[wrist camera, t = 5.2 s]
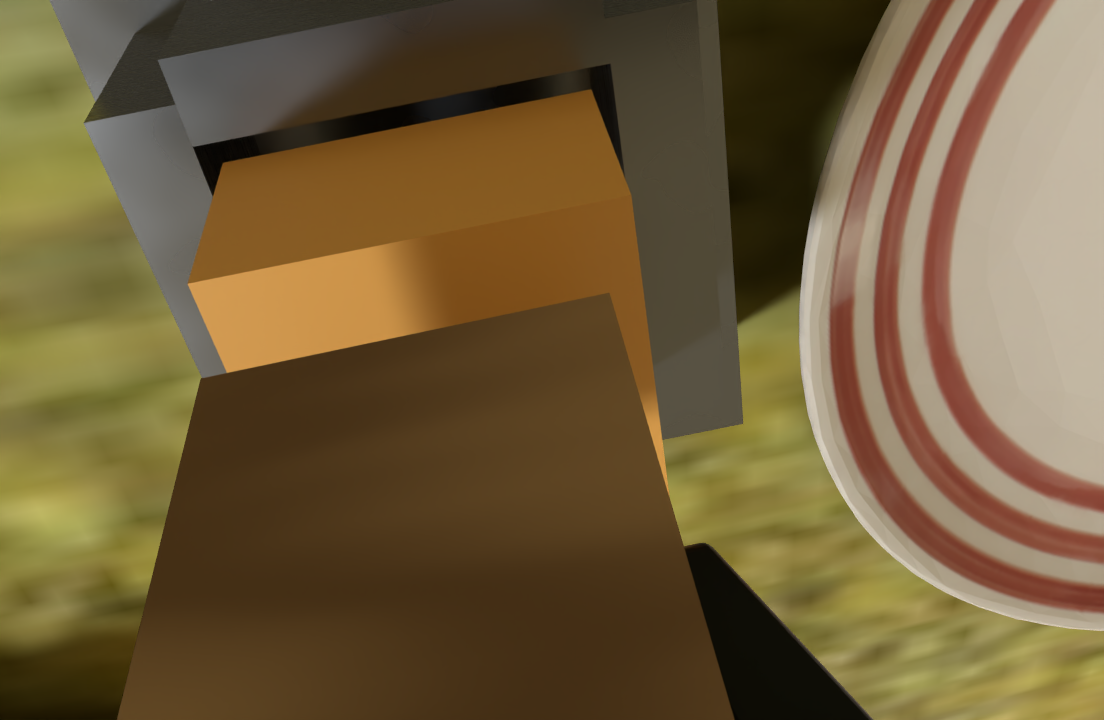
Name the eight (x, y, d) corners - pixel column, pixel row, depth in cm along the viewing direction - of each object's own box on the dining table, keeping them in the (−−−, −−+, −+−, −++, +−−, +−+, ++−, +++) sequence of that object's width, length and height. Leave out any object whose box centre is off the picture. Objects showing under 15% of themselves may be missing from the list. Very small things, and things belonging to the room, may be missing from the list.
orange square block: (329, 439, 17) (319, 579, 15) (223, 163, 14) (187, 283, 12) (632, 378, 17) (671, 509, 15) (591, 88, 14) (631, 195, 12)
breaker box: (293, 424, 25) (267, 640, 20) (17, -246, 16) (-151, -166, 11) (709, 341, 25) (789, 536, 20) (650, -374, 16) (763, -350, 11)
